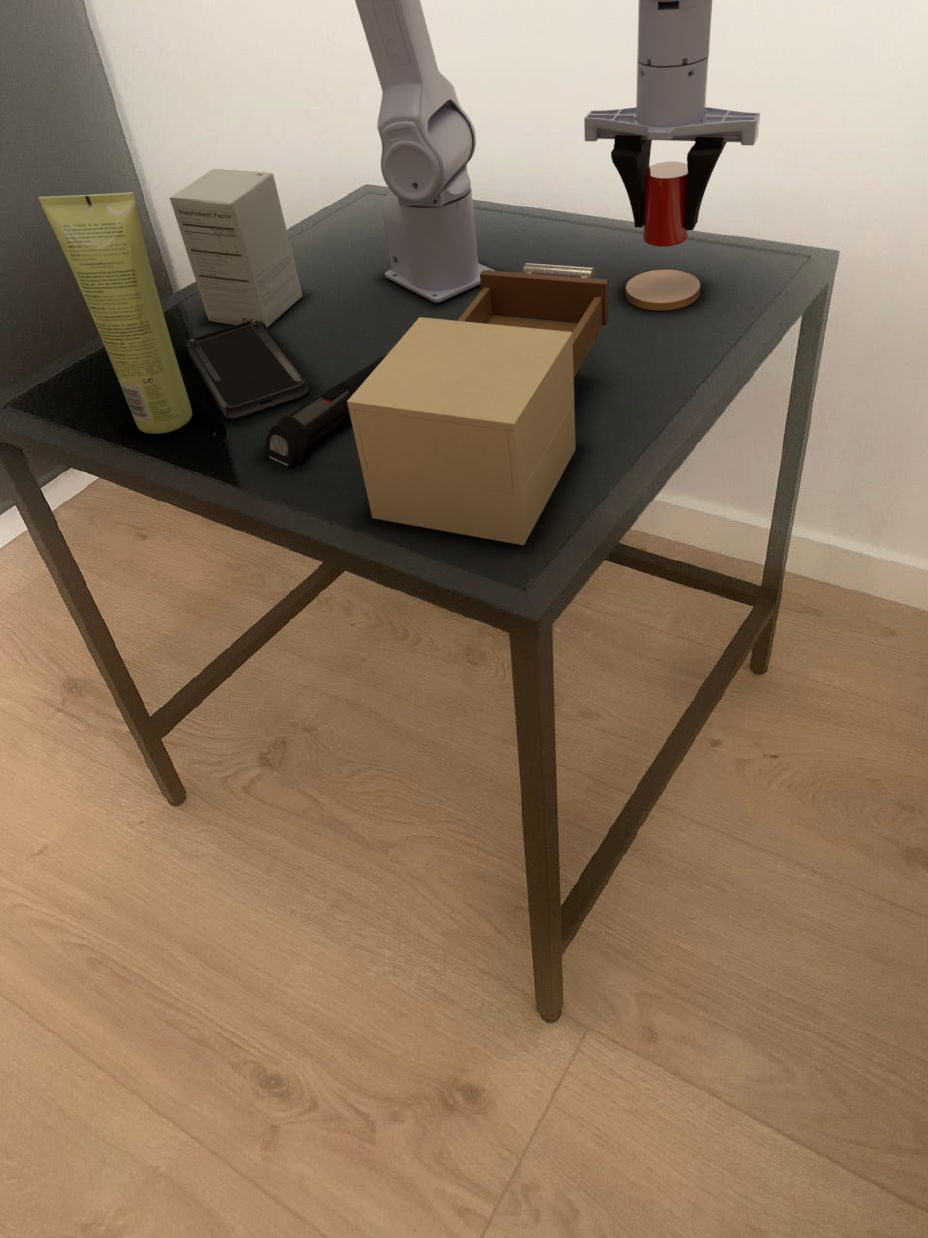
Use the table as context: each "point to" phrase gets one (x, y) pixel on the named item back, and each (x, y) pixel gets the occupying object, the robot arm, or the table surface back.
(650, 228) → the red upright cylinder
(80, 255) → the tube
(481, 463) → the little tan box
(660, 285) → the cork coaster
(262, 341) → the phone
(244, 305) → the white packaging box
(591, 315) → the drawer
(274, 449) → the electric trimmer
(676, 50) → the robot arm
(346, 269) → the table surface
